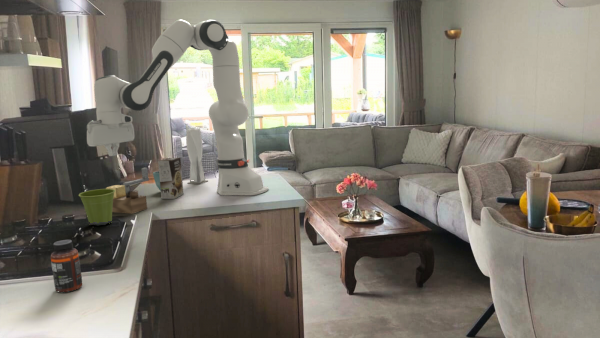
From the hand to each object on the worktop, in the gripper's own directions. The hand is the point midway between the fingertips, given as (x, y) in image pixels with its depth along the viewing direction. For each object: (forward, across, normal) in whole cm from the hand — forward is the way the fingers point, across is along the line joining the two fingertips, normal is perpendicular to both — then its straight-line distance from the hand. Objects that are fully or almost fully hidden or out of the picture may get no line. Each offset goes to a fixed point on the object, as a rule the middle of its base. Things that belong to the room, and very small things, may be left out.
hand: (113, 155), depth 201 cm
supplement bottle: (+21, -64, -54) cm, 86 cm away
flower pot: (+21, +34, +5) cm, 40 cm away
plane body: (+21, 0, -4) cm, 21 cm away
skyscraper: (+21, +55, +6) cm, 59 cm away
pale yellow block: (+16, 0, 0) cm, 16 cm away
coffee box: (+21, +25, -5) cm, 33 cm away
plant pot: (+21, -19, -12) cm, 31 cm away
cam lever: (+16, +4, -6) cm, 17 cm away
